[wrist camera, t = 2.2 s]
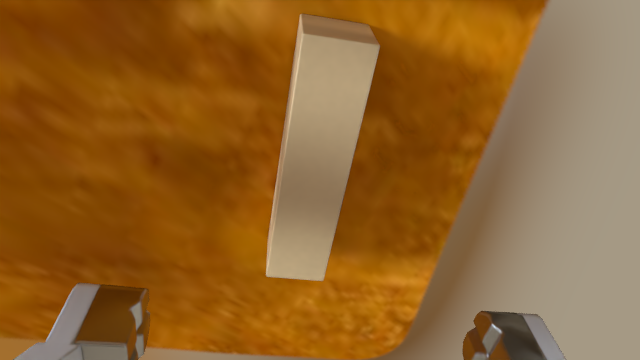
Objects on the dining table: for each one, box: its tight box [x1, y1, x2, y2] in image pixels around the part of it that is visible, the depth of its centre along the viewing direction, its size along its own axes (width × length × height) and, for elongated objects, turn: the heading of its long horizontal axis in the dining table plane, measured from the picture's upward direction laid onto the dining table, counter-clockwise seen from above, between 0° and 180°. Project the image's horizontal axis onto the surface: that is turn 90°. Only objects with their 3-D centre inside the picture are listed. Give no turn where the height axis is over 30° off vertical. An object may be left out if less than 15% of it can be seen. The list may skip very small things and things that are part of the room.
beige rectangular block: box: [266, 14, 380, 281], centre depth 17 cm, size 10×2×2 cm, turn 170°
